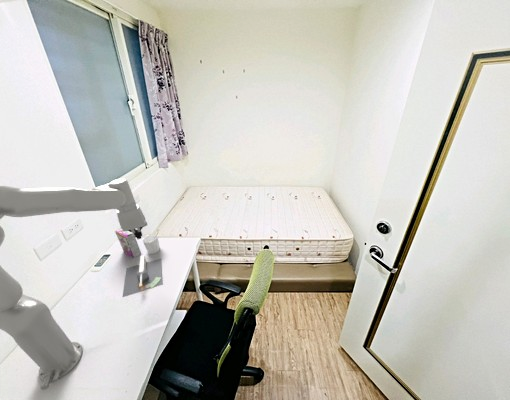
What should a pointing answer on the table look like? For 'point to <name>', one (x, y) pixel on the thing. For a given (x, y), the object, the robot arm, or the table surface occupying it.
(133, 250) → the candy bar box
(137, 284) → the tuner board
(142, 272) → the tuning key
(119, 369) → the table surface
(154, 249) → the white cup
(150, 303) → the table surface
